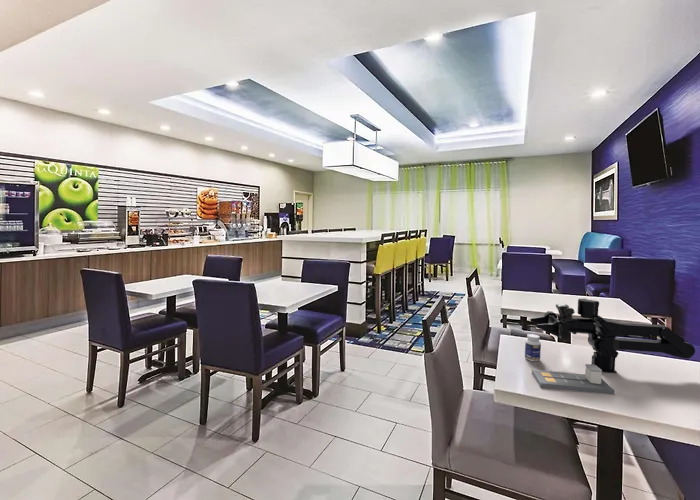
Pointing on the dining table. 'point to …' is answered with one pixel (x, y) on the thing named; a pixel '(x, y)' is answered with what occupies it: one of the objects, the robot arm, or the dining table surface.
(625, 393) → the dining table surface
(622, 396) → the dining table surface
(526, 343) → the pill bottle
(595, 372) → the fader
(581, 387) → the mixing board
